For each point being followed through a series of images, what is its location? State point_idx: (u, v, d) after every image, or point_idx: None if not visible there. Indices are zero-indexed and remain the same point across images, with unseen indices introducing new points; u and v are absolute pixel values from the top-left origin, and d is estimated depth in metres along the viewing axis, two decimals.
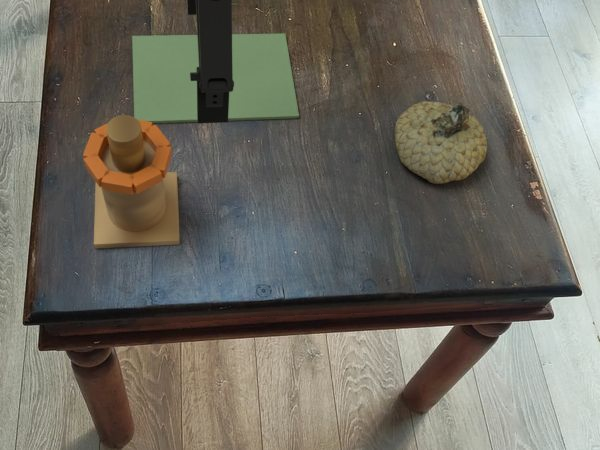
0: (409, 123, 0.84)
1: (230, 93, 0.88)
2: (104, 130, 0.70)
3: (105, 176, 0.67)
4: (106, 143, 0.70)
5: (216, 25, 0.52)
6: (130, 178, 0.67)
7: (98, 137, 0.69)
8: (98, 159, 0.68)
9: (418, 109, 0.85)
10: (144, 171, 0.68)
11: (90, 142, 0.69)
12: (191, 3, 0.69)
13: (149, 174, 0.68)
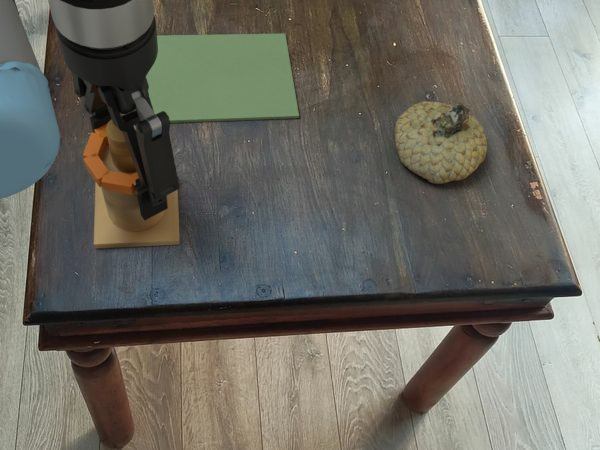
0: (409, 123, 0.84)
1: (230, 93, 0.88)
2: (104, 130, 0.70)
3: (105, 176, 0.67)
4: (106, 143, 0.70)
5: (160, 155, 0.60)
6: (130, 178, 0.67)
7: (98, 137, 0.69)
8: (98, 159, 0.68)
9: (418, 109, 0.85)
10: None
11: (90, 142, 0.69)
12: None
13: None
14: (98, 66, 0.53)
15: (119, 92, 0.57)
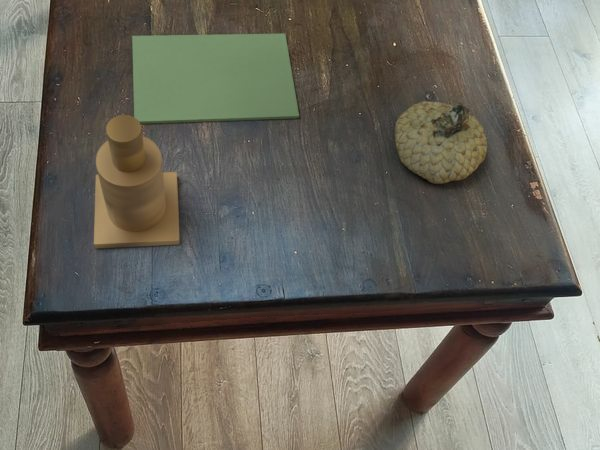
0: (409, 123, 0.84)
1: (230, 93, 0.88)
2: None
3: None
4: None
5: None
6: None
7: None
8: None
9: (418, 109, 0.85)
10: None
11: None
12: None
13: None
14: None
15: None
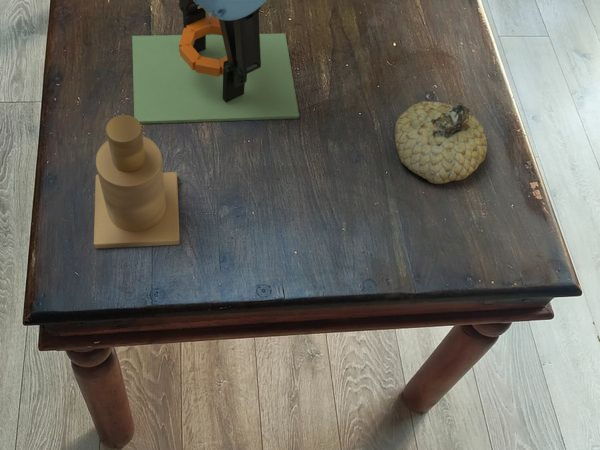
0: (409, 123, 0.84)
1: None
2: (194, 26, 0.85)
3: (198, 60, 0.82)
4: (195, 37, 0.85)
5: (250, 33, 0.75)
6: (218, 62, 0.82)
7: (190, 31, 0.84)
8: (191, 47, 0.83)
9: (418, 109, 0.85)
10: None
11: (184, 35, 0.84)
12: None
13: None
14: None
15: None
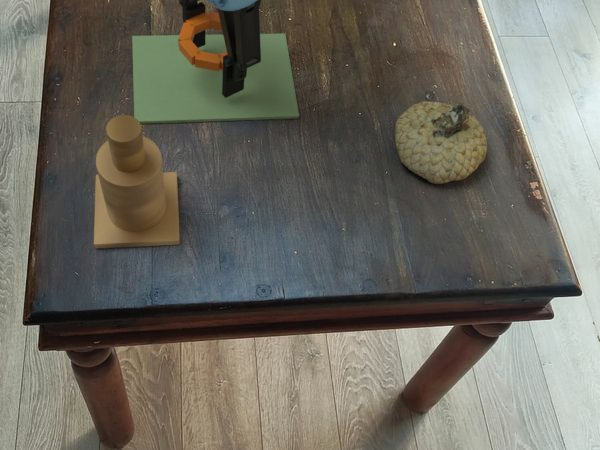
0: (409, 123, 0.84)
1: None
2: (194, 21, 0.84)
3: (198, 55, 0.81)
4: (195, 32, 0.85)
5: (250, 27, 0.75)
6: (218, 57, 0.82)
7: (189, 26, 0.84)
8: (191, 42, 0.82)
9: (418, 109, 0.85)
10: None
11: (183, 29, 0.83)
12: None
13: None
14: None
15: None
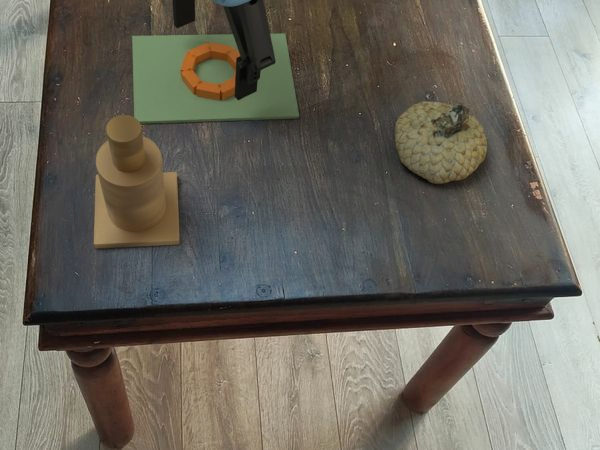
0: (409, 123, 0.84)
1: None
2: (195, 51, 0.89)
3: (199, 85, 0.86)
4: (196, 62, 0.89)
5: (257, 21, 0.73)
6: (218, 86, 0.86)
7: (191, 56, 0.88)
8: (192, 72, 0.87)
9: (418, 109, 0.85)
10: (228, 82, 0.87)
11: (185, 60, 0.88)
12: (179, 18, 0.87)
13: (232, 84, 0.87)
14: None
15: None
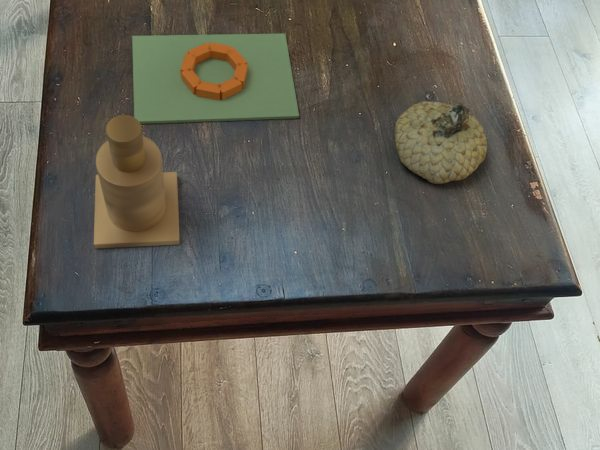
0: (409, 123, 0.84)
1: None
2: (195, 51, 0.89)
3: (199, 85, 0.86)
4: (196, 62, 0.89)
5: None
6: (218, 86, 0.86)
7: (191, 56, 0.88)
8: (192, 72, 0.87)
9: (418, 109, 0.85)
10: (228, 82, 0.87)
11: (185, 60, 0.88)
12: None
13: (232, 84, 0.87)
14: None
15: None
